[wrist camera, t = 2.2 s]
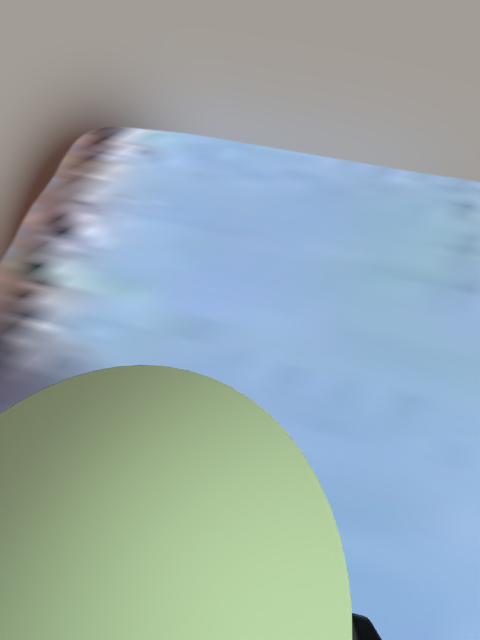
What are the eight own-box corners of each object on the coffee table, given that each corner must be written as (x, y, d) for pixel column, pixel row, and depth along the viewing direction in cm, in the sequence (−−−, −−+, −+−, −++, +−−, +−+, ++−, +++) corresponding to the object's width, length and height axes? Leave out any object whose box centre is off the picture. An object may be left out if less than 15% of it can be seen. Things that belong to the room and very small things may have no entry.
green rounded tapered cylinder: (226, 637, 14) (332, 1162, 2) (92, 600, 14) (-369, 932, 3) (254, 486, 17) (360, 413, 5) (142, 457, 17) (21, 329, 6)
